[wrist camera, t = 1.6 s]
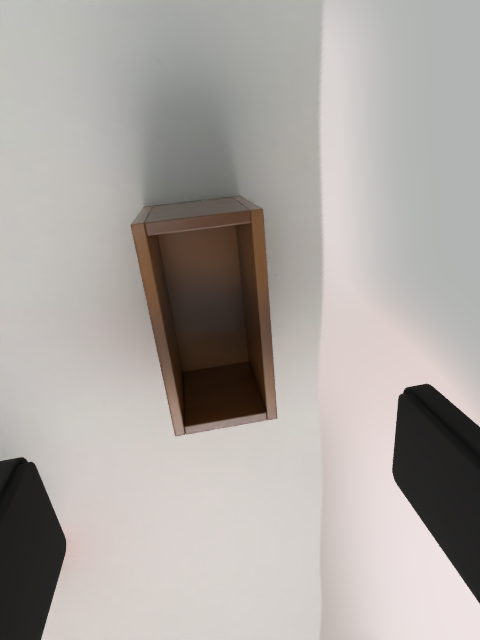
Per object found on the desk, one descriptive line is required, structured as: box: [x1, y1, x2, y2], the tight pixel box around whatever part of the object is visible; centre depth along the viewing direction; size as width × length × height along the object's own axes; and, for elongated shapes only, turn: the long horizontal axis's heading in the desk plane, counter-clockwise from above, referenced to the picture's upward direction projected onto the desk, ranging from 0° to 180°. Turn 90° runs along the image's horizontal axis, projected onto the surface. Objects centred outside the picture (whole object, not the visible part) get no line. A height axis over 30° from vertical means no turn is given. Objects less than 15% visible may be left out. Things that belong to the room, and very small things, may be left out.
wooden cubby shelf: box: [131, 196, 277, 436], centre depth 19 cm, size 10×5×6 cm, turn 6°
